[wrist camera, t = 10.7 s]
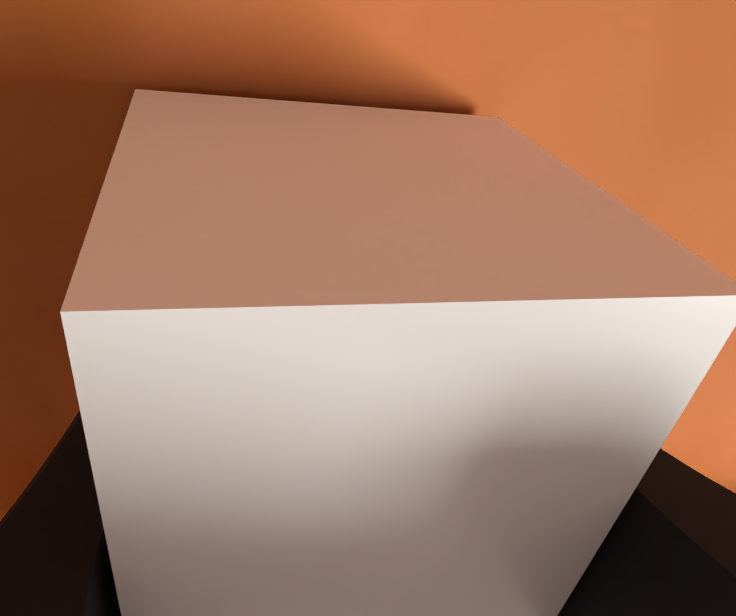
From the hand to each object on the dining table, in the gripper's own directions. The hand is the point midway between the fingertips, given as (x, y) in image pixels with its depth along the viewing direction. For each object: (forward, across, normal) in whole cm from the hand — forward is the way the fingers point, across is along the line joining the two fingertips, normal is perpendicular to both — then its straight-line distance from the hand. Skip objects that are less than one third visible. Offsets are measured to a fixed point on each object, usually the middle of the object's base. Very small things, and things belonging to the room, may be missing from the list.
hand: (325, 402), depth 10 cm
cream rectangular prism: (+2, 0, 0) cm, 2 cm away
